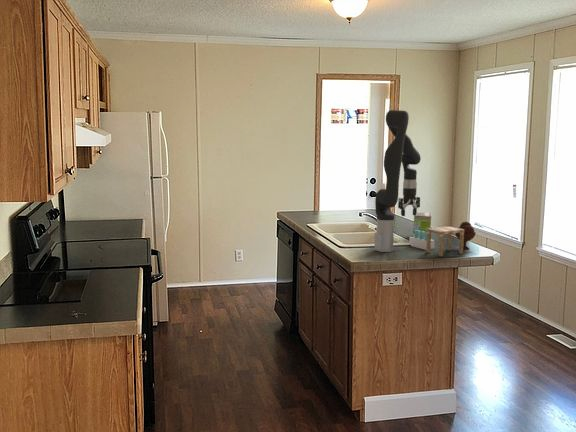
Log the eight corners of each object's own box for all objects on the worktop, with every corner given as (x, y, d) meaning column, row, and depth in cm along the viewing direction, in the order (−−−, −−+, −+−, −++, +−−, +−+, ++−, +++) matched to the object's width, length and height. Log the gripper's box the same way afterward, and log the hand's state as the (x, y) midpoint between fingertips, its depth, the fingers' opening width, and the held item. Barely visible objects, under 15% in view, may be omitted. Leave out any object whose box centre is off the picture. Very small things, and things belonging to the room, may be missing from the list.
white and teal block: (425, 250, 333) (426, 234, 332) (409, 245, 345) (409, 230, 344) (434, 249, 336) (435, 233, 335) (417, 244, 348) (417, 229, 347)
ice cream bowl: (450, 247, 340) (451, 221, 338) (466, 246, 344) (468, 220, 341) (461, 251, 330) (463, 223, 328) (478, 249, 334) (480, 223, 332)
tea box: (430, 240, 360) (431, 215, 358) (413, 239, 362) (414, 215, 360) (429, 236, 375) (430, 212, 372) (413, 235, 377) (414, 211, 374)
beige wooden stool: (440, 256, 316) (441, 231, 314) (426, 252, 326) (427, 228, 324) (463, 253, 324) (464, 229, 322) (448, 249, 334) (449, 226, 332)
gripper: (404, 188, 340) (403, 217, 342) (423, 187, 346) (422, 215, 349) (395, 187, 346) (394, 215, 349) (415, 186, 353) (414, 213, 355)
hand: (408, 215), depth 349 cm, fingers open, 7 cm apart
